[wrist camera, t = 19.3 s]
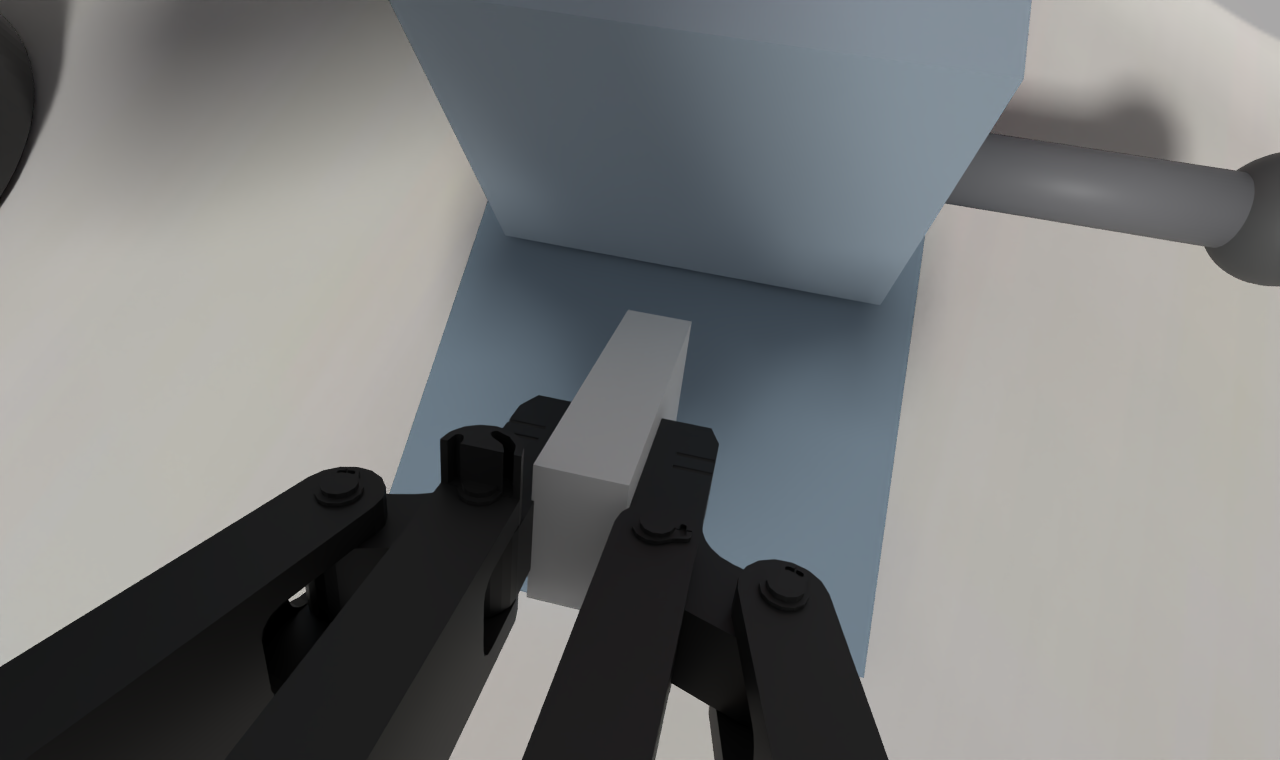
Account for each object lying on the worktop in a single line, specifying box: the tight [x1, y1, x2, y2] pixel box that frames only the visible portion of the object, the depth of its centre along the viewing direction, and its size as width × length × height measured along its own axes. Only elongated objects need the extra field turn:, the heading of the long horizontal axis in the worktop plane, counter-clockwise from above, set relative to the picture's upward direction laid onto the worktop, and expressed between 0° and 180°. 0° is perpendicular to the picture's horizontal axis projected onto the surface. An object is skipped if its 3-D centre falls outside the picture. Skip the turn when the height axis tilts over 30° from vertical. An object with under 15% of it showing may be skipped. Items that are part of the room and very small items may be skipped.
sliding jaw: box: [389, 0, 1280, 305], centre depth 16 cm, size 3×20×9 cm, turn 77°
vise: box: [389, 201, 925, 678], centre depth 18 cm, size 24×13×9 cm, turn 167°
